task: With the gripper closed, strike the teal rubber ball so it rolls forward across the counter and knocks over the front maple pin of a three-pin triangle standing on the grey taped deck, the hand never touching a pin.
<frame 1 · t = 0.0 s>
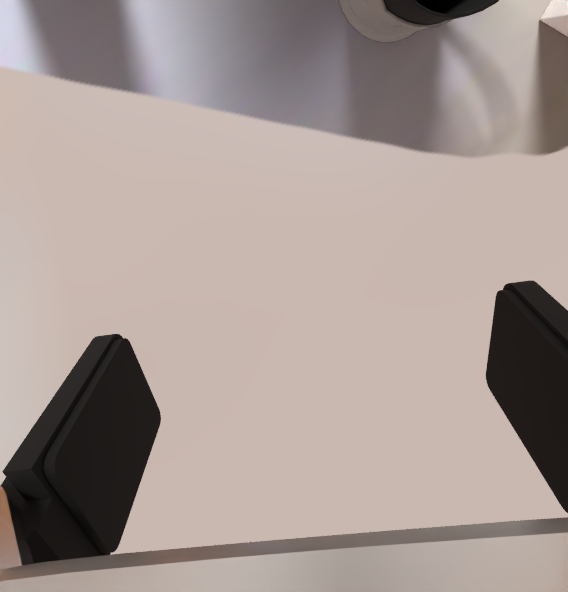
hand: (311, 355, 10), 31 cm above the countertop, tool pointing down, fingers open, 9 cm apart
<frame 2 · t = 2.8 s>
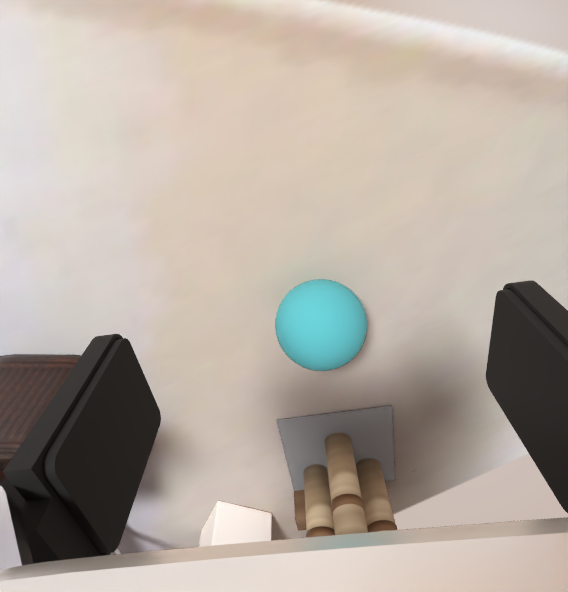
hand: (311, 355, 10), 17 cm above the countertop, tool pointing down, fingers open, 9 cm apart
pin deck mark: (339, 450, 38), on the countertop
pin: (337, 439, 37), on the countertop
back wall: (339, 490, 41), on the countertop
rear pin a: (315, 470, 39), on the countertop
ball: (320, 324, 27), on the countertop
milk: (236, 519, 43), on the countertop
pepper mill: (57, 379, 33), on the countertop
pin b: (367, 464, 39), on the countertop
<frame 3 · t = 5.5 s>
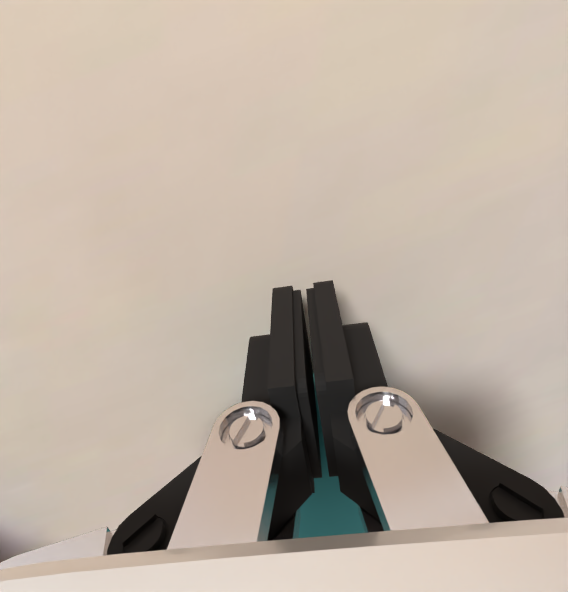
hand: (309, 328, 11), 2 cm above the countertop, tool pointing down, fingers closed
ball: (319, 469, 13), on the countertop
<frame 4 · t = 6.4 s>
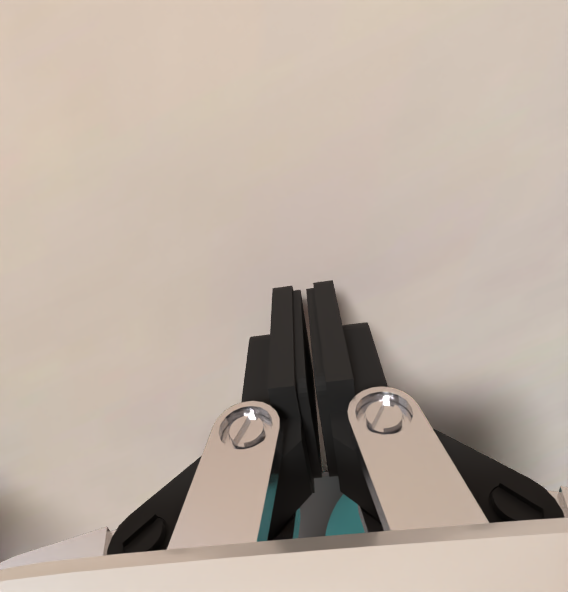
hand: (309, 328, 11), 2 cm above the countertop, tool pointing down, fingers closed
pin deck mark: (341, 536, 20), on the countertop
ball: (405, 557, 15), on the countertop
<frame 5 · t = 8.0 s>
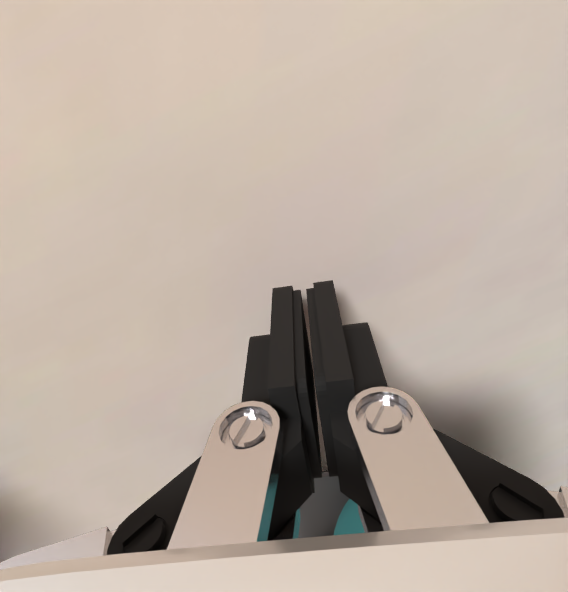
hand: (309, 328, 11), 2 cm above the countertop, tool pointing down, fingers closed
pin deck mark: (341, 536, 20), on the countertop
ball: (413, 560, 15), on the countertop
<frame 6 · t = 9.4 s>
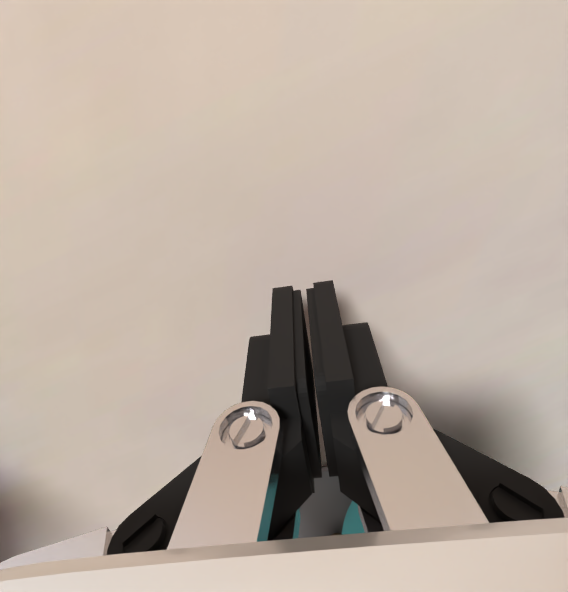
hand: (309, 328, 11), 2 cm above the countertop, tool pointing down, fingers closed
pin deck mark: (349, 531, 20), on the countertop
ball: (420, 552, 15), on the countertop
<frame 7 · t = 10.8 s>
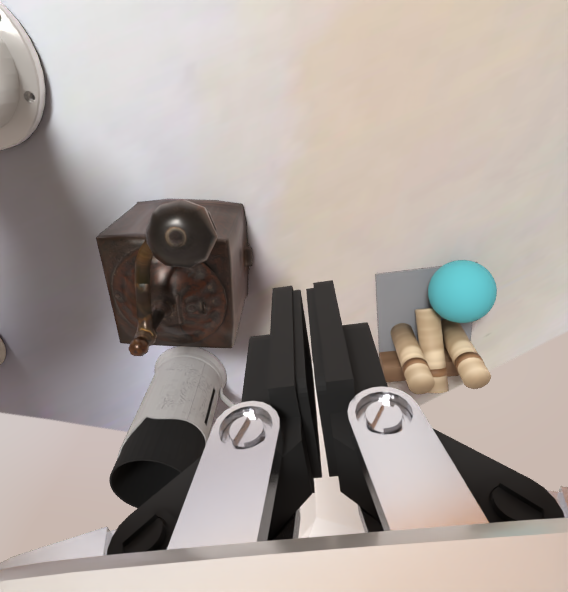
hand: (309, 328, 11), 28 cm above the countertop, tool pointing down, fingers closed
pin deck mark: (424, 309, 43), on the countertop
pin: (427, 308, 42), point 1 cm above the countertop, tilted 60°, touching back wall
glass holder: (213, 376, 49), on the countertop
back wall: (419, 354, 46), on the countertop
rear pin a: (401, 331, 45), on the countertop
ball: (461, 291, 39), on the countertop
milk: (322, 384, 49), on the countertop
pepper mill: (196, 226, 40), on the countertop
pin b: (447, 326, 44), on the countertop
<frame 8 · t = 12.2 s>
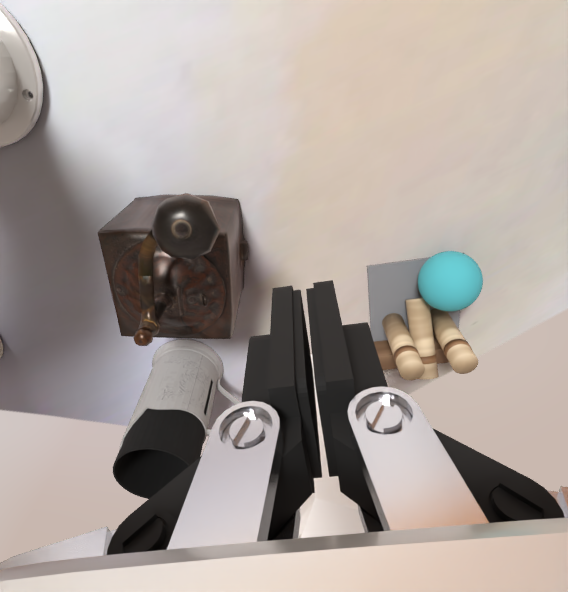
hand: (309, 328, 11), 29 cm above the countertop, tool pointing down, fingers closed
pin deck mark: (414, 299, 45), on the countertop
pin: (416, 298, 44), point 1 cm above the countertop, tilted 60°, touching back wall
glass holder: (210, 368, 50), on the countertop
back wall: (409, 342, 48), on the countertop
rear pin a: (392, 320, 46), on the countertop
ball: (449, 281, 40), on the countertop
milk: (316, 374, 51), on the countertop
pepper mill: (193, 221, 41), on the countertop
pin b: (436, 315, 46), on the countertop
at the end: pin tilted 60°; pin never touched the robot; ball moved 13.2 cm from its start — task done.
